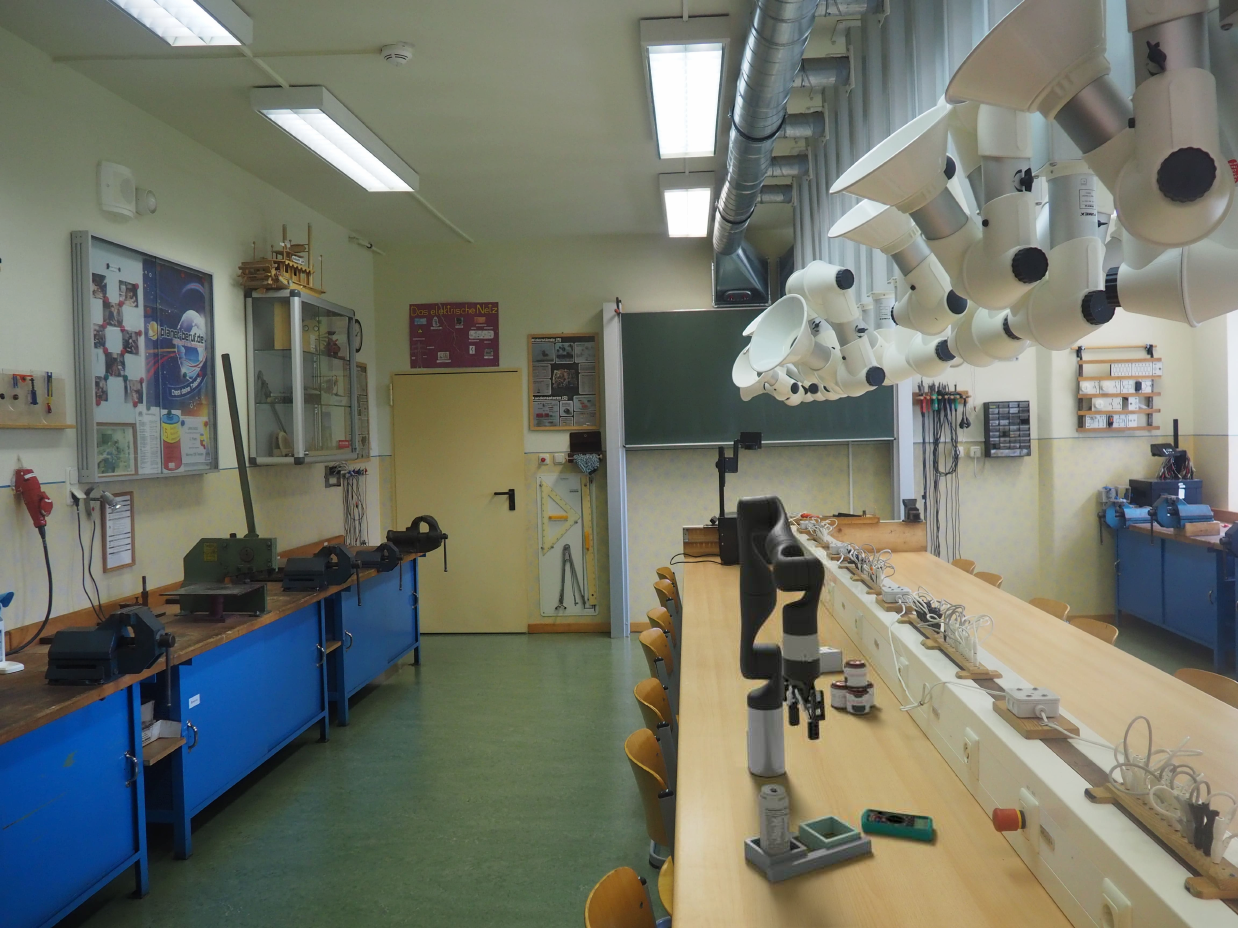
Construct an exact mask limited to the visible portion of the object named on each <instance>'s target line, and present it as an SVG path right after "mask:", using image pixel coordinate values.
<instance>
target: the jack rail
mask: <svg viewBox="0 0 1238 928" xmlns="http://www.w3.org/2000/svg"><path fill="white" fill-rule="evenodd" d="M831 833H832V834H834V835H836V836H833V837H831V838H828V839H827V838H825V837H824V836H825V835H828V834H831ZM800 842H801V843H800ZM802 843H803V844H804V845H805V846H804V845H803V844H802ZM743 845H744V847H743V849H744V857H745V858H746V859H747V860H748V861H750V862H751V863H752V864H754V865H755V866H756V867H757V868H758V869H759V870H761V871H762V872H764V874H766V879H767V880H768V881H769V882H770V883H772V884H776V883H778V882H779V883H780V882H781V881H784V880H788V879H791V878H794V877H796V876H800V875H803V874H806V873H809V872H812V871H816V870H818V869H821V868H825V867H827V866H831V865H834V864H836V863H840V862H843V861H847V860H849V859H852V858H855V857H858V856H861V855H865V854H867V853H871V852H872V851H873V850H872V849H873V848H872V847H873V846H872V839H871V838H869V837H867V835H862V832H861V831H860V830H859V829H857V828H855V827H854V826H853V825H850V824H849V823H847V822H846V821H844V820H843V819H841V818H839V817H837V816H836V815H835V814H833V813H832V814H829V815H825V816H821V817H818V818H814V819H811V820H808V821H805V822H801V823H798V834H797V833H796V832H795V831H790V851H789V852H786V853H782V854H779V855H776V856H773V857H770V856H769V855H768V854H766V853H765V852H764V851H762V850H761V849H760V835H756V836H753V837H749V838H746V839H744V840H743ZM806 846H807V847H808V848H810V849H811V850H813V851H812V852H809V853H808V848H807V847H806Z"/></svg>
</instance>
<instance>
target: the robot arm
mask: <svg viewBox="0 0 1238 928" xmlns="http://www.w3.org/2000/svg"><path fill="white" fill-rule="evenodd" d="M736 525H737V536H738V537H737V539H738V547H739V549H738V551H739V608H740V645H739V668H740V673H741V675H742V678H744V679H745V680H749V681H750V680H751V681H755V680H757V681H758V680H761V681H763V680H764V681H765V680H766V681H767V680H768V681H767V682H766V683H765V684H764V685H762V686H759V687H758V688H755V689H752V690H751V691H749V692H748V693H747V696H746V707H747V709H746V710H747V714H746V715H747V731H746V744H747V745H746V748H747V749H746V751H747V766H748V768H749V772H751V773H752V774H753V775H756V776H760V777H765V778H766V777H767V778H768V777H769V778H770V777H771V778H772V777H779V776H782V775H784V774H785V772H786V750H785V749H786V748H785V725H784V724H785V721H784V720H785V719H784V703H785V705H786V708H787V713H788V716H787V717H788V725H789V726H790V727H795V726H797V727H798V726H800V724H801V722H800V721H801V720H800V707H801V711H803V712H804V713H805V716H806V719H807V721H806V724H807V725H806V726H807V727H806V728H807V739H808V740H810V741H816V740H819V739H820V722H822V721H823V722H824V721H825V720H826V709H825V707H826V705H825V693H824V691H823V689H816V684H815V681H816V680H818V679H819V678H820V677H821V675H822V674H821V673H822V672H820V647H821V646H820V640H819V639H820V638H819V632H818V631H819V629H818V628H819V627H818V626H819V625H818V610H819V605H820V604H819V602H820V598H821V593H822V590H823V586H824V584H825V583H824V582H825V578H826V571H825V567H824V564H823V562H822V561H821V560H820V558H818V557H816V556H811V555H810V556H805V552H804V550H803V547H802V546H801V545H800V543H799V542H798V540H797V539H796V537H795V535H794V532H793V529H792V527H791V526H792V525H791V523H790V520H789V517H788V514H787V511H786V509H785V506H784V503H783V501H782V500H781V499H780V497H778V496H776V495H772V494H766V495H756V496H755V495H754V496H746V497H741V498H739V500H738V502H737V504H736ZM766 534H767V537H766V539H765V543H764V544H765V545H764V546H765V552H766V553H767V556H768V557H769V560H770V562H771V563H772V569H771V567H770V566H769V565H768V563H766V561H765V560H764V559H763V557H762V556H761V555H760V553H759V551H758V550H757V548H756V546H755V545H754V544H755V543H754V541H753V537H754V536H755V535H756V536H757V535H766ZM778 591H781V592H784V593H797V592H803V593H804V594H803V595H802V597H801V598H799V599H797V600H794V601H791V602H788V603H786V604H784V605H783V607H782V609H781V611H782V612H781V614H782V615H781V618H782V623H781V624H782V640H781V646H780V645H779V644H778V643H776V642H775V643H773V642H770V643H769V642H766V643H765V642H763V643H762V642H761V643H760V642H758V643H755V640H756V639H757V635H758V633H759V631H760V630H761V628H762V627H763V626H764V624H765V623H766V622H767V620H768V619H769V617H771V615H772V613H773V612H774V610H775V609H776V606H777V602H778V601H777V600H778ZM781 647H782V649H781ZM781 650H782V651H781ZM782 657H783V663H782ZM782 666H783V675H782Z"/></svg>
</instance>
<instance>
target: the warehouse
mask: <svg viewBox="0 0 1238 928" xmlns="http://www.w3.org/2000/svg"><path fill="white" fill-rule="evenodd" d="M781 651H782V649H781ZM843 662H844V661H843V650H839V649H836V648H832V647H830V646H820V673H828V672H840V671H843V672H844V663H843ZM782 663H783V657H782ZM782 675H783V666H782Z"/></svg>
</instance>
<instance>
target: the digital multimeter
mask: <svg viewBox="0 0 1238 928" xmlns="http://www.w3.org/2000/svg"><path fill="white" fill-rule="evenodd" d="M860 821H861V822H860V823H861V824H860V825H861V826H860V827H861V829H862V832H863V833H870V834H877V835H887V836H894V837H898V838H900V837H901V838H907V839H913V840H919V841H925V842H931V841H932V840H933V836H934V823H933V822H934V821H933V818H932V817H930V816H926V815H919V814H918V815H917V814H909V813H901V812H893V811H887V810H879V809H875V808H874V809H872V808H867V809H866V810H864V811H863V812H862V814H861V817H860Z"/></svg>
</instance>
